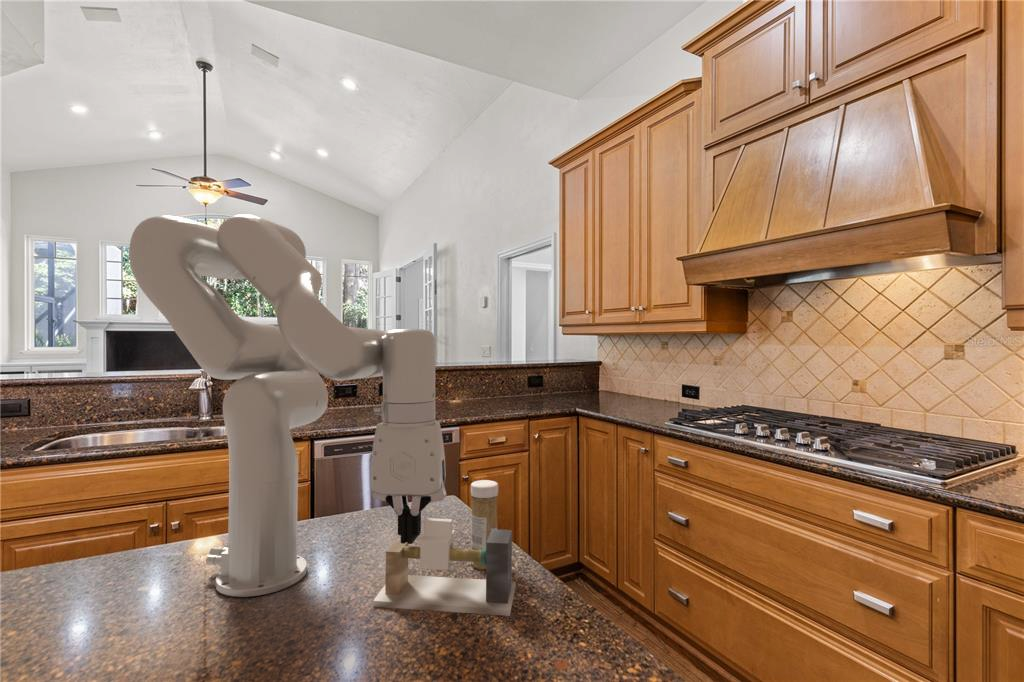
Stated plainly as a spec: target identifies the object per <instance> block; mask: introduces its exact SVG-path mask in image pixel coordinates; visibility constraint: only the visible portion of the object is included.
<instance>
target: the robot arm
mask: <svg viewBox="0 0 1024 682" xmlns="http://www.w3.org/2000/svg"><path fill="white" fill-rule="evenodd" d="M133 230H134V231H133V232H132V235H131V238H130V242H129V248H128V249H129V251H128V253H129V255H128V257H129V263H130V270H131V272H132V274H133V277H134V279H135V281H136V283H137V284H138V286H139V288H140V290H141V291H142V292H143V293H144V294H145V296H146V297H147V298H148V300H149V301H150V302H151V303H152V304H153V306H154V307H155V308H156V309H157V310H158V311H159V312H160V313H161V314H162V316H163V317H164V318H165V319H166V322H168V323H169V324H170V326H171V327H172V329H173V331H174V332H175V334H176V335H177V337H178V338H179V339H180V341H181V342H182V344H184V346H185V347H186V349H187V350H188V351H189V353H190V354H191V355H192V357H193V358H194V360H195V361H196V363H197V364H198V366H200V369H202V370H203V371H204V372H205V374H207V375H208V376H209V377H211V378H213V379H217V380H224V381H225V380H227V381H228V380H236V381H235V382H234V383H232V384H231V385H230V386H229V388H227V391H226V392H225V395H224V398H223V400H222V417H223V423H224V427H225V432H226V436H227V437H226V438H227V444H228V467H229V469H228V523H227V524H228V528H227V530H228V531H227V532H228V536H227V546H226V545H225V546H224V545H214V546H212V547H211V548H210V550H209V553H208V555H207V557H206V559H205V564H206V565H213V566H216V565H219V566H220V572H219V573H218V574H217V575H216V578H215V585H214V587H215V589H216V591H218V593H220V594H222V595H225V596H229V597H236V598H237V597H238V598H251V597H257V596H263V595H268V594H272V593H275V592H279V591H282V590H284V589H286V588H289V587H291V586H292V585H294V584H296V583H298V582H299V581H300V580H302V579H303V578H304V577H305V575H306V574H307V572H308V562H307V560H306V559H305V558H304V557H303V556H301V555H298V502H299V498H298V497H299V494H298V493H299V492H298V491H299V489H298V488H299V459H298V450H297V447H296V444H295V442H294V440H293V437H292V434H291V429H294V428H299V427H303V426H306V425H308V424H311V423H314V422H316V421H317V420H319V419H320V418H322V416H323V414H324V413H325V412H326V410H327V408H328V404H329V393H328V392H329V391H328V389H327V386H326V383H325V381H324V380H323V378H322V376H323V377H325V378H326V379H330V380H332V381H337V382H338V381H339V382H340V381H342V382H343V381H351V380H361V379H369V378H370V379H371V378H378V377H382V401H381V404H379V405H378V404H376V405H374V406H373V414H374V415H378V416H380V418H381V421H382V422H379V423H377V424H376V428H375V433H374V438H373V443H372V452H371V460H370V462H371V463H370V473H369V474H370V476H369V477H370V479H369V480H370V481H369V483H370V485H369V486H370V490H371V492H372V498H373V499H375V500H378V501H382V502H386V503H387V504H388V505H389V506H390V507H391V508H392V509H393V511H394V514H395V515H396V516H397V535H398V536H400V541H401V543H402V544H405V543H406V542H407V543H408V545H412V544H413V543H414V542H416V540H417V538H418V537H419V536H420V535H421V533H422V511H423V510H424V509H425V508H426V507H427V506H428V505H430V504H431V503H432V504H433V503H437V502H442V501H444V500H445V498H446V497H447V492H446V488H445V487H446V486H445V483H446V455H445V445H444V438H443V432H442V428H441V424H440V421H437V420H436V338H435V335H434V333H433V332H432V331H430V330H429V329H424V328H422V329H421V328H396V329H390V330H388V331H386V330H380V329H376V328H375V329H374V328H364V327H355V326H346V325H345V324H344V323H342V321H341V320H339V318H337V317H336V316H335V315H334V314H333V313H332V312H331V311H330V310H329V309H328V308H327V307H326V306H325V305H324V304H323V302H322V301H321V300H320V299H319V297H318V296H317V295H318V294H319V292H320V289H322V284H323V279H322V274H321V273H320V271H319V270H318V269H317V268H315V267H314V265H312V263H310V262H309V260H307V259H306V257H307V255H306V254H307V253H306V252H307V251H306V246H305V244H304V242H303V240H302V239H301V237H300V236H299V235H298V234H297V233H296V232H295V231H294V230H292V229H290V228H288V227H287V226H284V225H281V224H278V223H276V222H275V223H274V221H270V220H268V219H265V218H263V217H260V216H256V215H253V214H236V215H233V216H230V217H227V219H225V220H223V221H222V223H221V224H220V225H219V226H218V228H217V227H214V226H211V225H208V224H205V223H202V222H198V221H196V220H192V219H189V218H184V217H180V216H173V215H157V216H152V217H149V218H146V219H144V220H142V221H141V222H140V223H138V225H137V226H136V227H135V228H134V229H133ZM201 276H204V277H207V278H213V279H221V280H247V282H248V283H250V285H252V286H253V288H254V289H256V291H257V292H259V294H261V296H262V297H263V298H265V300H266V301H267V302H268V303H270V305H271V306H272V307H273V308H274V314H275V315H274V316H275V319H276V322H277V326H276V325H273V324H270V323H265V322H257V321H249V320H245V319H243V318H241V317H240V316H239V315H238V314H237V313H236V312H235V311H234V310H233V308H232V307H231V306H230V305H229V304H228V303H227V300H226V299H225V298H224V297H223V296H222V294H221V293H220V292H219V291H218V290H217V289H215V287H214V286H212V285H211V284H209V282H207V281H205V279H204V278H202V277H201ZM321 375H322V376H321ZM408 497H412V498H411V505H410V506H409V500H408V499H409V498H408Z"/></svg>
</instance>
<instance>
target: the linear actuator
mask: <svg viewBox="0 0 1024 682" xmlns="http://www.w3.org/2000/svg"><path fill="white" fill-rule="evenodd" d="M512 544H513V530H512V529H499V528H497V529H492V530H491V532H490V535H489V537H488V540H487V542H486V548H482V550H471V549H467V548H466V549H465V548H464V549H463V548H455V549H450V555H449V562H451V561H453V562H468V563H471V562H481V565H486V569H485V570H486V571H485V572H486V573H485V579H482V578H481V579H476V578H463V577H448V576H447V577H446V576H444V577H443V576H429V575H428V576H427V575H414V574H413V575H412V574H409V559H414V560H420V546H410V545H409V544H408V543H407V542H406V543H405V544H402V543H401V540H394V541H393V542H392V543H391V545H390V546H389V547H388V548H387V550H386V551H385V583H384V584H385V585H384V586H382V588H381V590H380V591H379V592H378V594H377V595H376V596H375V597H374V599H373V600H372V607H374V608H375V607H376V608H387V609H403V610H418V611H429V612H431V611H434V612H447V613H463V614H478V615H479V614H480V615H490V616H491V615H492V616H507V617H510V616H511V612H512V608H513V602H514V597H515V591H516V588H517V581H514V580H513V581H512V577H513V576H512V573H513V572H512V571H513V569H512V566H513V565H512V562H513V561H512V555H513V552H512V551H513V550H512V549H513V545H512Z"/></svg>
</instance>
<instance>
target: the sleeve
mask: <svg viewBox="0 0 1024 682" xmlns="http://www.w3.org/2000/svg"><path fill="white" fill-rule="evenodd" d="M455 537H456V531H455V529H454V530H453V519H452V518H437V517H436V518H434V517H425V518H424V519H423V535H422V537H421V539H420V540H419V542H420V543H419V545H420V546H419V547H420V559H419V569H421V570H437V571H449V569H450V561H449V555H450V549H456V548H455V547H456V544H455V543H456V542H455V541H456V538H455Z"/></svg>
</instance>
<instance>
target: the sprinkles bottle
mask: <svg viewBox="0 0 1024 682" xmlns="http://www.w3.org/2000/svg"><path fill="white" fill-rule="evenodd" d="M470 495H471V497H470V498H471V513H470V545H471V549H470V550H482V548H486V542H487V540H488V537H489V535H490V532H491V530H492V529H498V512H497V511H498V495H499V483H498V482H497V481H494V480H489V479H481V480H480V479H479V480H475V481H473V482H472V483H470ZM470 565H471V566H472V567H473V568H474V569H478V570H486V565H481V562H470Z"/></svg>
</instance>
